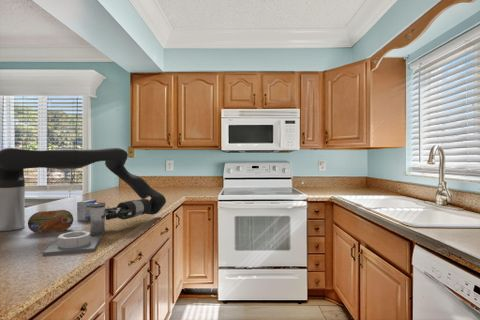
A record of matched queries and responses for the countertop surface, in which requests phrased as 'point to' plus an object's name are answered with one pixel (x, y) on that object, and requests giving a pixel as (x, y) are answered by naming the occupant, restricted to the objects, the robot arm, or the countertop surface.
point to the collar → (73, 243)
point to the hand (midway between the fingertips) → (98, 216)
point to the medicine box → (84, 209)
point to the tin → (50, 221)
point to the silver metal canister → (97, 218)
